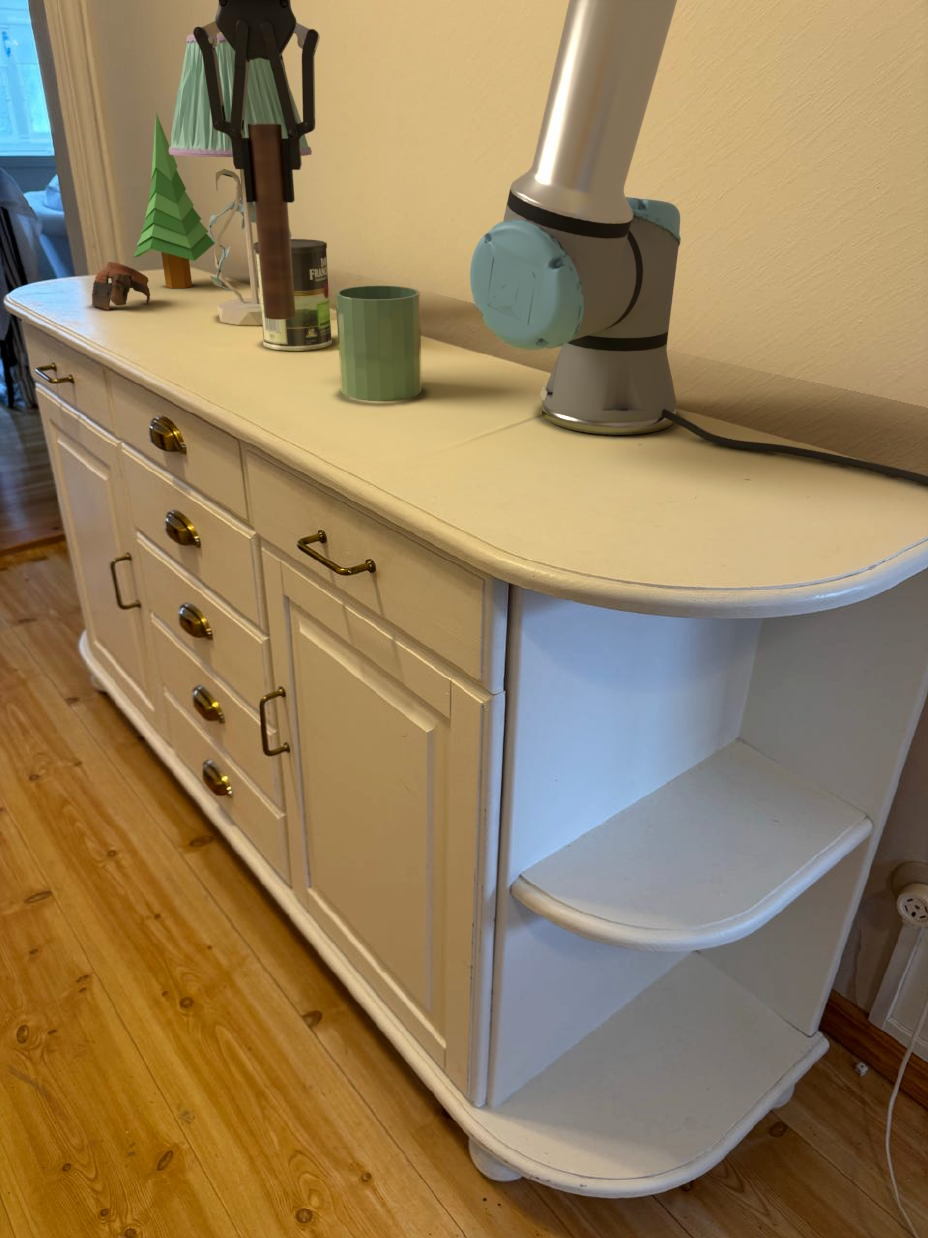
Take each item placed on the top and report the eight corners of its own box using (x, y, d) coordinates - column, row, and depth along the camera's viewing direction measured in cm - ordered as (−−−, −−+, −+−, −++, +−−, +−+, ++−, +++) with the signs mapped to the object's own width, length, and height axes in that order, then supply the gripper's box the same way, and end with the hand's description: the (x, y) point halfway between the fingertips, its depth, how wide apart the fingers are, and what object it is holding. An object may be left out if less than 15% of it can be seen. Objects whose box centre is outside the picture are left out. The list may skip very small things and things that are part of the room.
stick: (302, 316, 114) (288, 123, 104) (277, 320, 112) (261, 124, 102) (282, 312, 116) (267, 123, 106) (258, 316, 114) (240, 123, 104)
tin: (437, 393, 115) (436, 292, 109) (381, 409, 108) (377, 303, 103) (381, 379, 120) (378, 282, 115) (325, 394, 114) (318, 292, 108)
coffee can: (341, 338, 142) (336, 239, 135) (319, 353, 133) (312, 248, 126) (278, 334, 144) (269, 237, 137) (251, 349, 135) (241, 245, 128)
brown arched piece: (85, 306, 165) (99, 261, 164) (139, 327, 169) (153, 284, 169) (89, 299, 154) (103, 251, 154) (146, 322, 158) (160, 275, 158)
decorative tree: (219, 290, 177) (199, 112, 163) (134, 293, 174) (106, 111, 160) (220, 279, 189) (201, 112, 174) (140, 281, 186) (114, 111, 171)
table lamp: (336, 308, 163) (321, 41, 144) (300, 333, 144) (278, 30, 125) (219, 303, 166) (189, 41, 146) (168, 328, 147) (126, 30, 128)
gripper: (334, -38, 100) (344, 198, 112) (176, -42, 99) (203, 197, 110) (330, -48, 94) (342, 204, 105) (160, -52, 93) (191, 203, 104)
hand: (270, 200), depth 108 cm, fingers closed on stick, 4 cm apart
